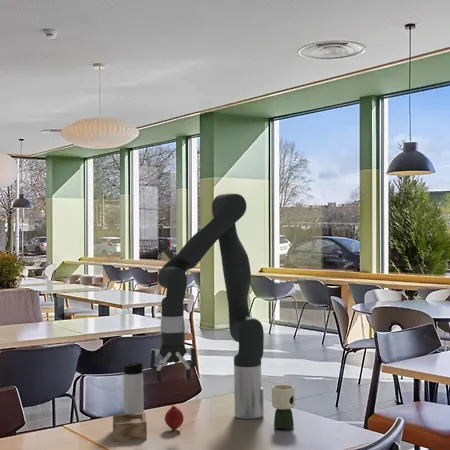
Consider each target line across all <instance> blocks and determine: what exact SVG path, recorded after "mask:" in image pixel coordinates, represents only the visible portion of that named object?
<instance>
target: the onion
mask: <svg viewBox="0 0 450 450" xmlns="http://www.w3.org/2000/svg"><path fill="white" fill-rule="evenodd" d="M184 419H185V418H184V414H183V412H182V411H181V410H180V409H179V408H178V407H177V406H176V405H174V404H171V407H170V408H169V409H168V410H167V411H166V412H165V415H164V422H165V424H166V425H167V426H168V427H169V428H170V429H171V430H172V431H177V429H179V428H180V427H181V426H182V425H183V423H184Z"/></svg>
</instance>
